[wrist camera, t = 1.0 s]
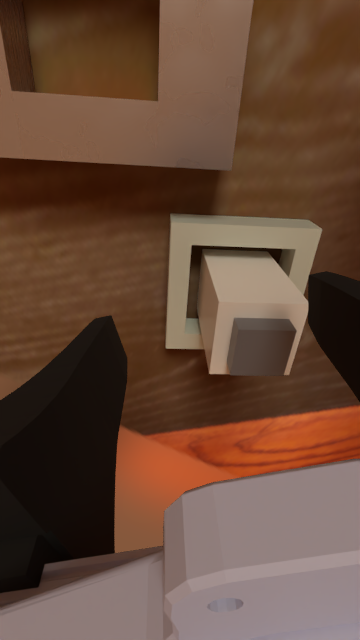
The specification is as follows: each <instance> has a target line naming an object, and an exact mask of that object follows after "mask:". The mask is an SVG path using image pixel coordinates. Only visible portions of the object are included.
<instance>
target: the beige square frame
mask: <svg viewBox="0 0 360 640" xmlns="http://www.w3.org/2000/svg"><path fill="white" fill-rule="evenodd" d="M321 232H322V229H321V228H320V227H318V226H317V225H315V224H314V223H312V222H311V221H309V220H302V219H281V218H259V217H238V216H217V215H196V214H174V213H170V231H169V256H168V280H167V305H166V330H165V337H166V349H204V344H203V339H202V333H201V328H200V323H199V319H194V318H186V310H187V298H188V285H189V272H190V259H191V246H192V245H204V246H229V247H254V248H279V249H282V252H281V257H280V261H279V266H280V267H281V269H282V270H283V271H284V272H285V274H286V275H287V276H288V277H289V279H290V280H291V281H292V282H293V283H294V285H295V286H296V287H297V288H298V290H299V291H300V292H301V293H302V295H304V291H305V288H306V284H307V281H308V277H309V274H310V270H311V267H312V263H313V260H314V256H315V253H316V249H317V246H318V242H319V239H320V235H321Z"/></svg>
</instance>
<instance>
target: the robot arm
mask: <svg viewBox="0 0 360 640" xmlns="http://www.w3.org/2000/svg"><path fill="white" fill-rule="evenodd" d="M308 324H309V326H310V328H311V330H312V332H313V334H314V336H315V338H316V340H317V342H318V344H319V345H320V347H321V348H322V350H323V351H324V352H325V354H326V355H327V357H328V358H329V359H330V361H331V362H332V364H333V365H334V366H335V368H336V369H337V370H338V372H339V373H340V374H341V376H342V377H343V379H344V380H345V381H346V383H347V384H348V385H349V387H350V388H351V390H352V391H353V392H354V394H355V395H356V397H357V399H358V400H359V402H360V281H357V280H354V279H351V278H348V277H345V276H342V275H339V274H335V273H331V272H321V273H316V274H311V275H309V280H308ZM126 384H127V356H126V354H125V351H124V348H123V346H122V343H121V340H120V338H119V335H118V332H117V330H116V327H115V324H114V322H113V319H112V316H106V317H101V318H96V319H94V320H93V321H92V322H91V323H90V324H89V325H88V326H87V327H86V328H85V329H84V330H83V331H82V332H81V333H80V334H79V335H78V336H77V337H76V338H75V339H74V340H73V341H72V342H71V343H70V344H69V345H68V346H67V347H66V348H65V349H64V350H63V351H62V352H61V353H60V354H59V355H57V356H56V357H55V358H54V359H53V360H52V361H51V362H50V363H49V364H48V365H47V366H46V367H44V368H43V369H42V370H41V371H40V372H39V373H37V374H36V375H35V376H34V377H32V378H31V379H30V380H29V381H27V382H26V383H25V384H23V385H22V386H21V387H20V388H18V389H17V390H15V391H14V392H12V393H11V394H9V395H8V396H6V397H5V398H3V399H2V400H0V640H360V459H350V460H344V461H338V462H332V463H326V464H320V465H314V466H308V467H302V468H296V469H290V470H284V471H278V472H272V473H266V474H260V475H254V476H248V477H242V478H236V479H231V480H224V481H218V482H213V483H209V484H206V485H203V486H200V487H197V488H194V489H191V490H188V491H186V492H184V493H183V494H182V495H181V496H180V497H179V498H178V499H177V500H176V501H175V502H173V503H172V504H171V505H170V506H169V507H168V508H167V509H166V510H165V511H164V526H163V531H164V532H163V537H164V538H163V543H164V544H163V546H158V547H152V548H146V549H139V550H133V551H126V552H120V553H115V550H114V507H115V505H114V504H115V500H114V499H115V471H116V470H115V469H116V452H117V439H118V432H119V426H120V420H121V414H122V409H123V403H124V397H125V390H126Z"/></svg>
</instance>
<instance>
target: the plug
mask: <svg viewBox="0 0 360 640" xmlns="http://www.w3.org/2000/svg"><path fill="white" fill-rule="evenodd" d="M197 312H198V317H199V323H200V328H201V333H202V339H203V344H204V349H205V355H206V360H207V365H208V371H209V374H230V375H249V376H284V375H289V373H290V370H291V366H292V363H293V360H294V356H295V353H296V350H297V347H298V343H299V340H300V337H301V334H302V330H303V327H304V324H305V320H306V317H307V314H308V301H307V300H306V298H305V297H304V296H303V295H302V293H301V292H300V291H299V290H298V288H297V287H296V286H295V285H294V283H293V282H292V281H291V280H290V279H289V277H288V276H287V275H286V274H285V272H284V271H283V270H282V269H281V267H280V266H279V265H278V264H277V263H276V261H275V260H274V259H273V258H272V256H271V255H270V254H269V253H268V251H244V250H218V249H202V256H201V266H200V277H199V287H198V298H197Z"/></svg>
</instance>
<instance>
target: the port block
mask: <svg viewBox="0 0 360 640" xmlns="http://www.w3.org/2000/svg"><path fill="white" fill-rule="evenodd" d="M252 6H253V0H160V28H159V82H158V101H145V100H131V99H117V98H103V97H89V96H75V95H61V94H47V93H35V87H34V80H33V73H32V66H31V59H30V52H29V46H28V39H27V32H26V25H25V18H24V11H23V4H22V0H0V157H2V158H20V159H37V160H55V161H72V162H89V163H107V164H124V165H142V166H159V167H177V168H194V169H212V170H229V171H231V170H232V162H233V154H234V146H235V139H236V131H237V123H238V115H239V107H240V100H241V92H242V84H243V76H244V68H245V61H246V53H247V45H248V37H249V29H250V22H251V14H252Z"/></svg>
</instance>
